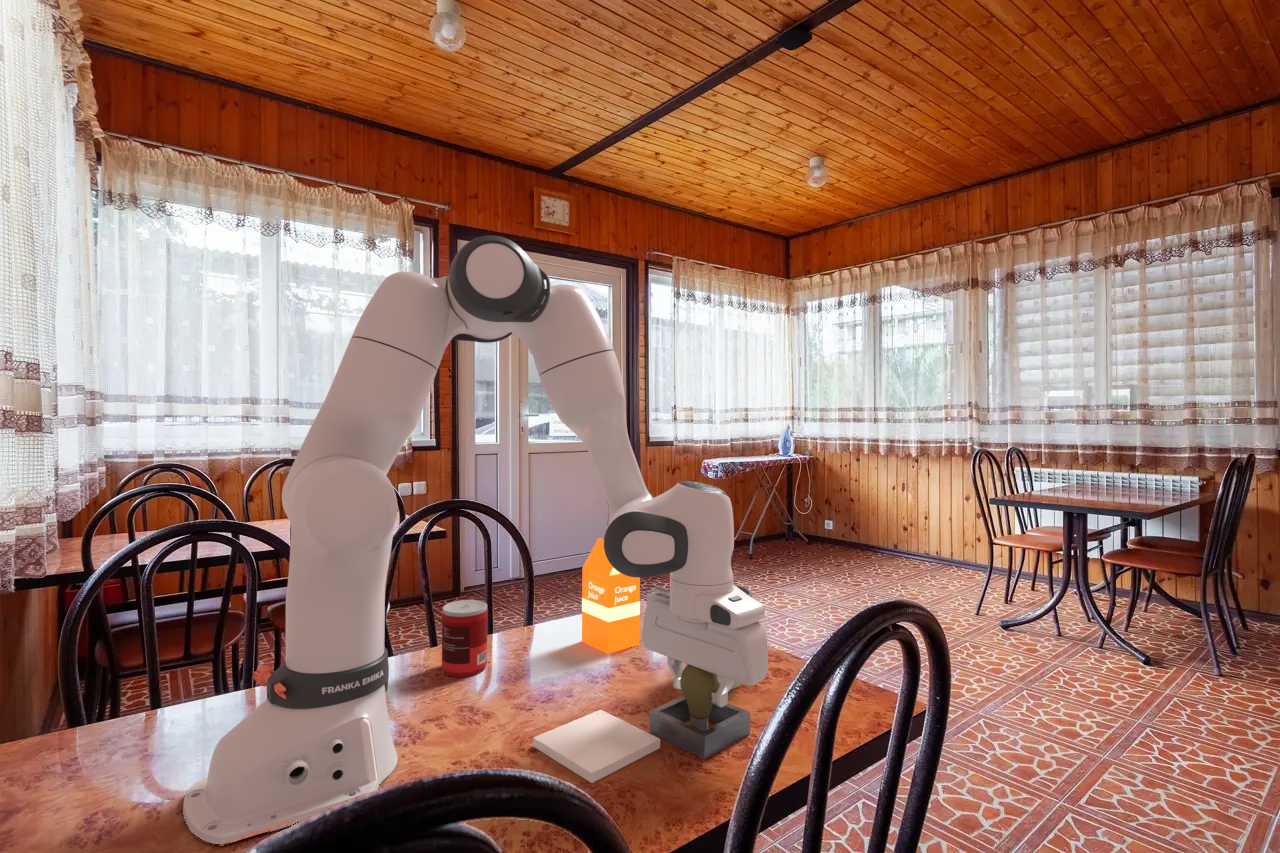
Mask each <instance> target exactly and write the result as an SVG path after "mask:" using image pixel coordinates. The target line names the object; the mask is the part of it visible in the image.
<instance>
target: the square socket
mask: <svg viewBox="0 0 1280 853" xmlns="http://www.w3.org/2000/svg"><path fill="white" fill-rule="evenodd" d="M648 713H649V714H648V716H649V718H648V724H649V725H648V726H649V727H648V733H649V734H651V735H653V736H655V737H657V738H659V739H662V740H664V741H666V742H669V743H670V744H672V745H674V746H676V747H678V748H681V749H682V750H685V751H686V752H688V753H691V754H693V755H695V756H697V757H698V758H701V759H703V760H707V759H708V758H710V757H712V756H713V755H715V754H717V753H718V752H720V751H722V750H724V749H726V748H727V747H729V746H731V745H732V744H735V742H737V741H740V740H741V739H742V738H744V737H746V736H749V735H750V734H751V712H750V710H746V709H743V708H741V707H738V706H736V705H734V704H732V703H729V702H728V703H727V705H725V706H723V707H719V706H717V705H714V704H713V705H712V709H711V713H710V715H709V716H708V721H710V722H713V723H715V725H712V726H711V727H708V729H707V730H705V731H702V730H700V729H698V728H696V727H693V726H691V724H689V723H687V722H684V721H685V720H687V719H689V718H691V715H690V712H689V708H688V704H687V701H686V699H685V697H684V695H682V696H680V697H677V698H675V699H672V700H670V701H668V702H666V703H664V704H662V705H660V706H657V707H655V708H652V709H651V710H649V712H648Z"/></svg>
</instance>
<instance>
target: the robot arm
mask: <svg viewBox="0 0 1280 853" xmlns="http://www.w3.org/2000/svg"><path fill="white" fill-rule="evenodd" d="M550 280H551V279H550V277H549V275H548V274H547V273H546V272H545V271H544V270H543V269H541V267H540V266H538V264H536V263H535V262H534V261H533V260H532V258H531V257H530V256H529V255H528V254H527V252H525V250H523V249H522V247H520V246H519V245H518V244H517V243H516V242H514V241H512V240H510V239H509V238H506V237H503V236H499V235H494V234H493V235H483V236H482V235H481V236H479V237H476V238H473V239H472V240H470V241H468V242H467V243H465V244H464V245H463V246H462V247H461V248H460V249H459V250H458V252H456V254H455V256H454V257H453V259H452V261H451V263H450V267H449V271H448V275H447V276H446V275H444V276H442V277H429V276H427V275H425V274H422V273H419V272H414V271H399V272H395V273H391V274H390V275H388V276H387V277H386V278H385V279H384V280H383V281H382V282H381V284H380V285H379V287H378V288H377V290H375V292H374V294H373V295H372V296H371V299H370V300H369V302H368V303H367V305H366V307H365V309H364V310H363V312H362V315H361V316H360V318H359V320H358V322H357V324H356V326H355V328H354V331H353V333H352V335H351V337H350V339H349V342H348V345H347V347H346V349H345V351H344V354H343V356H342V358H341V361H340V363H339V366H338V368H337V371H336V374H335V375H334V378H333V380H332V383H331V385H330V388H329V390H328V393H327V394H326V396H325V399H324V401H323V403H322V405H321V407H320V408H319V410H318V412H317V414H316V416H315V417H314V420H313V422H312V424H311V426H310V428H309V430H308V432H307V434H306V436H305V438H304V440H303V442H302V445H301V446H300V448H299V450H298V452H297V455H296V457H295V460H294V461H293V463H292V465H291V467H290V470H289V472H288V474H287V476H286V478H285V480H284V483H283V486H282V491H281V503H282V504H281V505H282V507H283V508H282V509H283V511H284V513H285V516H286V517H287V518H288V520H289V524H290V543H289V544H290V545H289V546H290V547H289V564H288V565H289V566H288V578H287V587H286V588H287V589H286V595H285V660H284V661H283V663H282V664H280V666H279V667H277V669H276V670H274V669H273V668H272V667H271V666H270V665H268V664H265V665H260V666H258V667H257V668H256V671H254V672H253V674H254V675H253V680H254V681H255V682H257V684H258V685H259V686H261V687H266V699H264V700H263V701H262V702H261V703H260V704H259V705H258V706H257V707H256V708H254V709H252V711H251V712H250V713H249V714H248V715H247V716H246V717H244V718H243V719H242V720H241V721H239V723H237V724H236V725H235V726H234V727H233V728H232V729H230V730H229V731H228V732H227V733H226V734H224V735H223V736H222V737H221V738H220V739H219V741H218V742H217V744H216V745H215V747H214V749H213V752H212V755H211V759H210V761H209V766H208V772H207V777H205V778H203V779H201V780H198V781H196V782H194V783H193V784H192V785H191V786H190V787H189V789H188V790H187V792H186V793H185V795H184V799H183V806H182V816H183V815H184V817H183V820H184V819H185V820H184V822H185V821H186V823H185V825H186V824H187V825H188V827H189V828H190V829H191V831H193V833H194V834H196V835H197V836H198V837H200V838H202V839H203V840H205V841H207V842H210V843H221V844H222V843H226V842H229V841H233V840H235V839H238V838H240V837H242V836H244V835H246V834H250V833H251V832H254V831H259V830H264V829H266V828H268V830H269V826H278V825H279V824H281V823H283V822H288V821H290V824H289V825H288V826H286V825H287V824H286V825H285V826H283V825H282V826H280V827H279V828H276V829H273V830H271V831H270V832H274V831H278V830H280V829H284V828H287V827H289V826H294V825H296V824H295V823H297V822H300V821H302V820H304V819H306V818H308V817H310V816H312V815H314V814H316V813H318V812H321V811H323V810H325V809H327V808H330V807H332V806H335V805H337V804H339V803H342V802H344V801H346V800H349V799H352V798H354V797H357V796H359V795H362V794H366V793H370V792H374V791H377V792H378V790H379V788H380V785H381V784H382V782H383V781H385V779H387V778H388V776H390V774H392V772H393V771H394V770H395V768H396V767H397V765H398V760H399V758H398V752H397V750H396V747H395V743H394V740H393V736H392V732H391V727H390V721H389V713H388V705H387V692H388V689H389V677H390V667H389V653H388V649H387V648H386V647H385V635H386V634H385V633H386V632H385V625H386V623H385V611H386V606H385V605H386V604H385V603H386V585H387V578H388V577H387V576H388V570H389V564H390V560H391V553H392V546H393V539H394V538H393V537H394V526H395V523H396V521H397V518H398V511H399V510H398V508H399V507H398V506H399V505H398V498H397V495H396V491H395V489H394V486H393V484H392V482H391V481H390V479H389V477H388V476H387V475H388V473H389V471H390V469H391V468H392V465H393V464H394V462H395V460H396V459H397V457H398V455H399V453H400V452H401V450H402V449H403V446H404V445H405V443H406V441H407V439H408V438H409V437H410V435H411V434H412V433H413V431H414V430H415V428H416V427H417V425H418V422H419V420H420V416H421V414H422V412H423V409H424V406H425V403H426V401H427V398H428V396H429V393H430V391H431V388H432V386H433V383H434V380H435V378H436V375H437V373H438V369H439V367H440V365H441V361H442V359H443V356H444V353H445V352H446V349H447V347H449V346H448V345H449V344H450V342H452V341H451V340H453V341H463V342H465V341H466V342H474V343H487V344H488V343H489V344H490V343H497V342H499V341H503V340H505V339H507V338H508V337H510V336H511V335H514V336H515V337H517V338H519V339H520V340H521V341H522V342H523V344H524V345H525V346H526V347H527V350H528V351H529V352H530V354H531V355H532V358H533V362H534V365H535V368H536V371H537V374H538V377H539V380H540V382H541V385H542V388H543V391H544V393H545V395H546V397H547V398H548V401H549V403H550V404H551V406H552V408H553V410H554V412H555V413H556V415H557V416H558V419H559V420H560V422H561V423H563V424H564V425H565V426H566V427H567V428H568V429H570V430H571V431H572V433H574V434H575V435H576V436H577V437H578V438H579V440H580V441H581V442H582V443H583V445H584V447H585V448H586V450H587V451H588V452H589V455H590V457H591V460H592V461H593V465H594V467H595V469H596V473H597V475H598V477H599V481H600V483H601V486H602V489H603V492H604V494H605V497H606V501H607V506H608V507H607V509H608V514H607V515H608V516H607V526H606V529H605V532H604V533H605V534H604V535H603V536H604V537H603V539H604V551H605V555H606V557H607V559H608V561H609V563H610V564H611V565H612V566H613V568H614V569H616V570H617V571H618V572H620V573H621V574H623V575H626V576H629V577H635V578H640V579H641V578H647V577H654V576H660V575H665V574H666V575H667V574H669V589H667V588H664V587H661V586H654V588H652V589H650V590H649V591H648V593H647V594H646V606H645V609H644V610H645V611H644V615H643V621H642V634H641V641H642V643H643V645H644V648H645V649H646V650H648V651H651V652H654V653H657V654H659V655H662V656H665V657H667V658H666V659H667V661H666V662H667V663H666V664H667V665H668V668H669V670H670V673H671V676H672V677H673V688H674V689H675V690H677V691H680V692H682V690H681V686H680V679H681V674H682V672H683V670H684V669H685V668H684V666H683V663H684V664H685V665H687V664H689V665H692V666H694V667H697V668H700V669H703V670H705V671H708V672H711V673H713V674H716V675H718V682H719V683H721V685H720V687H719V689H717V690H715V691H713V692H712V700H711V702H712V704H714V705H717V706H719V707H723V706H725V705H727V703H729V700H728V699H729V696H728V695H729V692H730V691H731V690H732V689H731V687H732V685H733V684H734V682H738V683H741V684H740V685H744V686H746V687H752V686H754V685H756V684H758V683H760V682H762V681H763V680H764V679H765V678H766V676H767V675H768V671H769V646H768V637H767V633H766V629H765V628H764V625H763V624H761V622H760V621H761V620H763V619H764V618H765V615H766V613H765V612H766V610H765V606H764V604H763V603H761V602H760V601H758V600H756V599H755V598H753V596H752V597H750V596H749V595H747V594H746V593H744V592H743V591H742V590H740V589H739V588H738V587H737V586H735V585H736V584H735V585H733V584H734V573H733V569H732V556H733V551H734V549H735V547H734V546H735V532H734V531H735V527H734V526H735V524H734V523H735V522H734V513H733V506H732V501H731V498H730V497H729V495H728V494H727V493H726V492H725V491H724V490H722V489H721V488H719V487H718V486H715V485H711V484H708V483H703V482H699V481H698V482H697V481H691V480H683V481H679V482H677V483H676V484H674V486H673V487H671V488H670V489H668V490H667V491H665V492H663V493H661V494H659V495H657V496H654V494H652V493H651V491H649V488H648V487H647V485H646V483H645V480H644V477H643V475H642V472H641V469H640V467H639V464H638V461H637V458H636V455H635V453H634V450H633V447H632V445H631V441H630V438H629V437H630V436H629V434H628V433H629V432H628V427H627V411H626V407H627V405H626V396H625V395H626V394H625V387H624V380H623V376H622V372H621V368H620V365H619V364H620V363H619V361H618V358H617V355H616V351H615V349H614V346H613V344H612V341H611V338H610V336H609V334H608V331H607V329H606V327H605V325H604V322H603V321H602V318H601V316H600V315H599V313H598V311H597V310H596V307H595V305H594V304H593V301H592V300H591V299H590V297H589V296H588V294H587V292H586V291H584V290H583V289H582V288H580V287H579V286H575V285H573V284H571V285H570V284H556V285H555V284H554V285H551V281H550ZM545 283H546V284H545ZM730 689H731V690H730ZM379 784H380V785H379ZM293 819H294V822H293V821H292V820H293ZM296 820H298V821H296ZM291 822H293V823H291ZM300 823H301V822H300ZM293 824H294V825H293ZM297 824H298V823H297ZM187 825H186V826H187ZM188 827H187V828H188ZM189 828H188V829H189ZM191 831H190V832H191ZM270 832H269V833H270ZM207 842H206V843H207Z"/></svg>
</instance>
